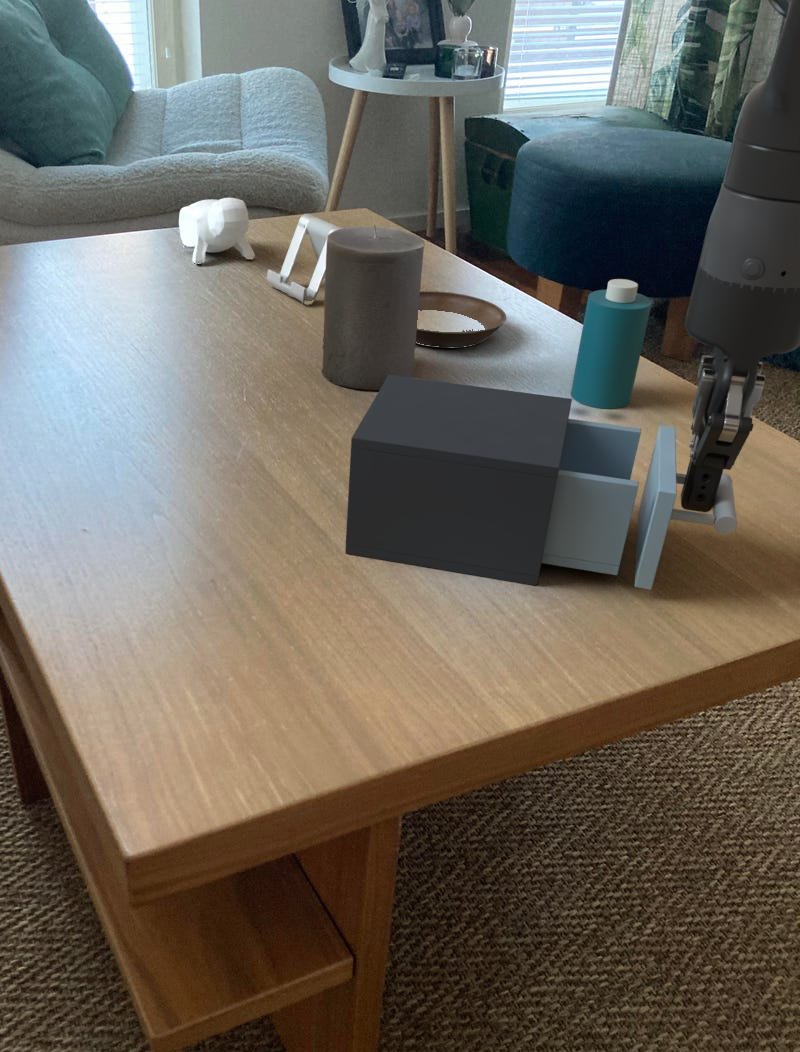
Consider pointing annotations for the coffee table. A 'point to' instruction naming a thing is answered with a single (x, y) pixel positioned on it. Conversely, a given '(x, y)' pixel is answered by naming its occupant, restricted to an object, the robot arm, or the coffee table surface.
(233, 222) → the white animal figurine
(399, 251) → the pillar candle
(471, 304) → the saucer
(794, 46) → the robot arm
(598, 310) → the detergent bottle
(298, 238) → the tablet stand
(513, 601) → the coffee table surface
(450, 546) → the drawer casing
